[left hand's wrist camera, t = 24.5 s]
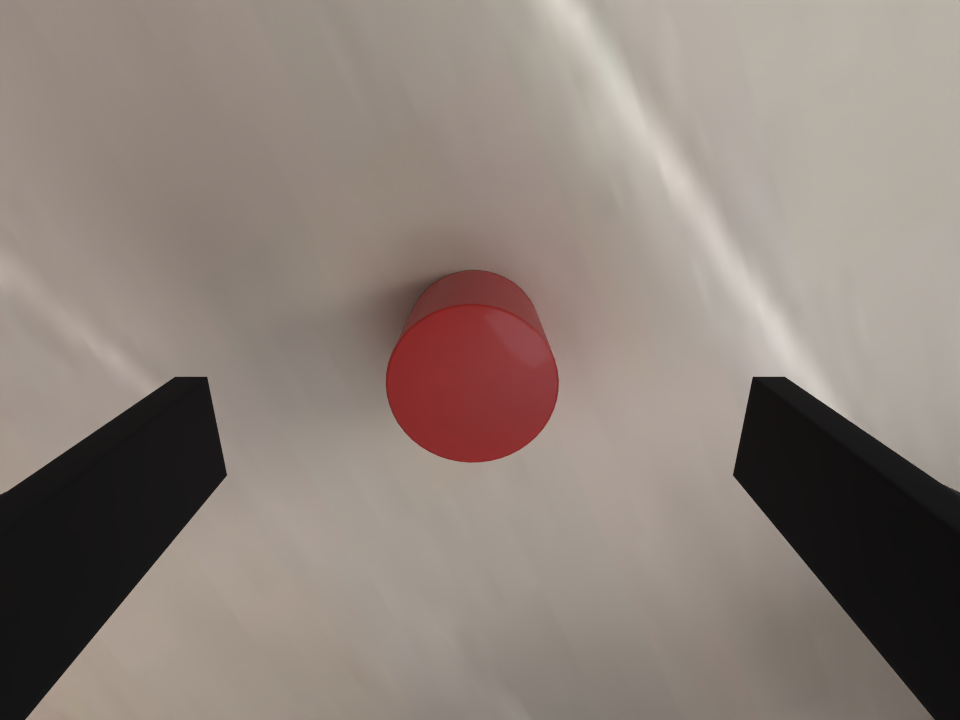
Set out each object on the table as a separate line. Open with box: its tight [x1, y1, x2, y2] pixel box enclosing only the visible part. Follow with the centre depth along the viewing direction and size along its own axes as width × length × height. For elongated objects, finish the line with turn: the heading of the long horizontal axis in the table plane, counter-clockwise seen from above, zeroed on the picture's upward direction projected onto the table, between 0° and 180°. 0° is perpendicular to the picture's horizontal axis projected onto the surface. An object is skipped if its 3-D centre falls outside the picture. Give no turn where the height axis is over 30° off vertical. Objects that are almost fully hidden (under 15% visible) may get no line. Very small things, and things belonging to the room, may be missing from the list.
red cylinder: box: [386, 270, 559, 462], centre depth 17 cm, size 5×5×5 cm
